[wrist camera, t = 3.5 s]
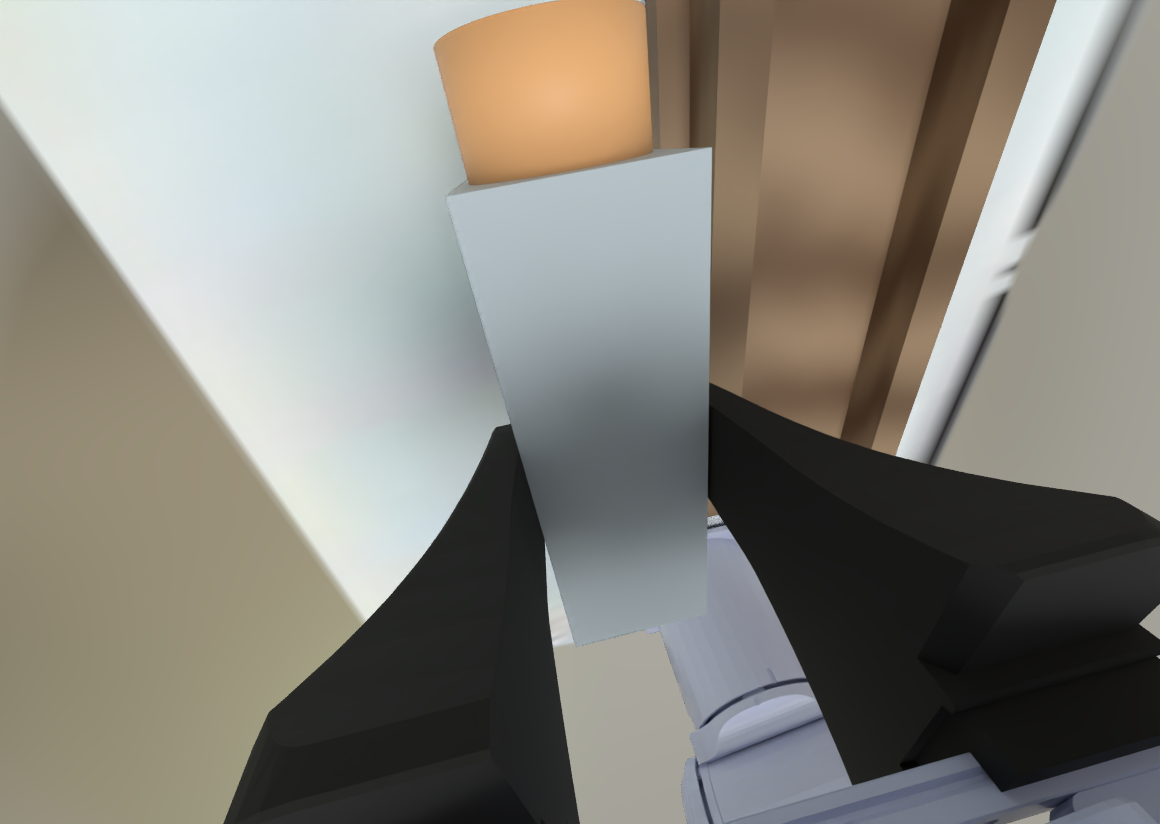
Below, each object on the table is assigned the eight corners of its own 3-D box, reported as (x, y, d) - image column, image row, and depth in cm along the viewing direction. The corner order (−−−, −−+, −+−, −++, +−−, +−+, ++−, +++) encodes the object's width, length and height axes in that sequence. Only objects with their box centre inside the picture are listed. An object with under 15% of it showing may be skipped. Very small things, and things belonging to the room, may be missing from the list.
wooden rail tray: (864, 437, 25) (906, 470, 22) (664, 482, 24) (684, 522, 21) (1023, -108, 13) (1150, -168, 10) (643, -56, 12) (682, -106, 10)
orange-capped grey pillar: (654, 499, 17) (706, 614, 13) (556, 522, 17) (575, 647, 12) (618, 46, 9) (714, -41, 5) (439, 76, 9) (390, 10, 5)
